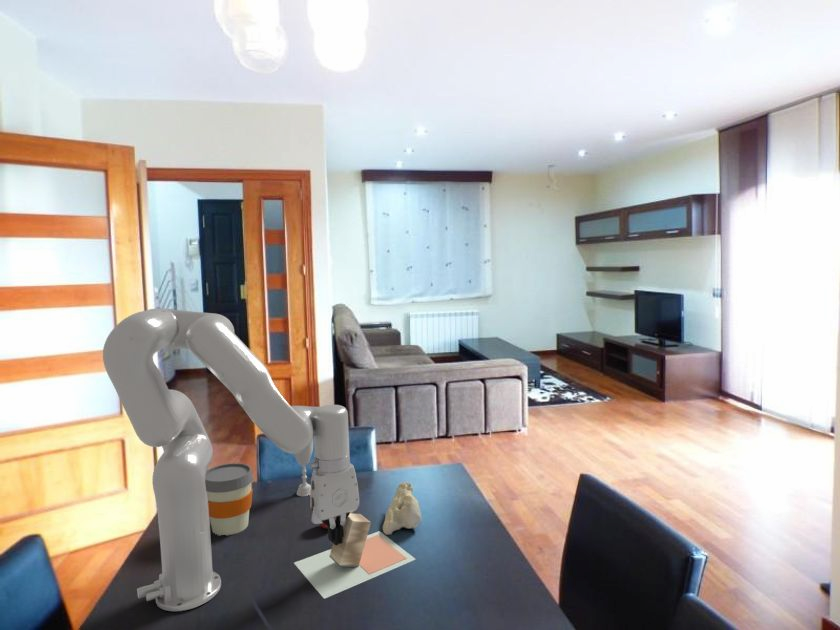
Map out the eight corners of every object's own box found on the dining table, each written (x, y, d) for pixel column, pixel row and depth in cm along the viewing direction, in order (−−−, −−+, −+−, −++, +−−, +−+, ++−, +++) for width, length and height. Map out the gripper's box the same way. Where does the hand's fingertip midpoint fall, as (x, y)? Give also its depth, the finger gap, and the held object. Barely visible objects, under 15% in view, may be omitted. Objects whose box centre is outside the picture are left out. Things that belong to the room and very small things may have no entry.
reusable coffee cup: (202, 543, 128) (199, 485, 126) (206, 519, 139) (203, 466, 138) (255, 533, 132) (253, 477, 130) (254, 512, 143) (252, 460, 142)
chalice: (313, 497, 152) (311, 438, 150) (290, 498, 152) (287, 438, 150) (318, 487, 159) (316, 430, 157) (296, 487, 159) (294, 430, 157)
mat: (324, 601, 105) (324, 598, 105) (293, 564, 118) (293, 562, 118) (416, 561, 118) (415, 558, 118) (379, 532, 131) (379, 530, 131)
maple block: (339, 566, 113) (352, 521, 114) (329, 556, 117) (342, 512, 118) (358, 566, 116) (371, 522, 117) (347, 556, 120) (360, 513, 121)
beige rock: (410, 552, 126) (443, 499, 133) (389, 533, 124) (423, 481, 131) (387, 542, 139) (418, 495, 146) (367, 525, 138) (399, 478, 145)
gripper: (307, 476, 105) (311, 561, 107) (370, 459, 114) (373, 537, 116) (293, 465, 111) (297, 546, 113) (354, 449, 120) (357, 524, 122)
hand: (336, 541), depth 114 cm, fingers closed
